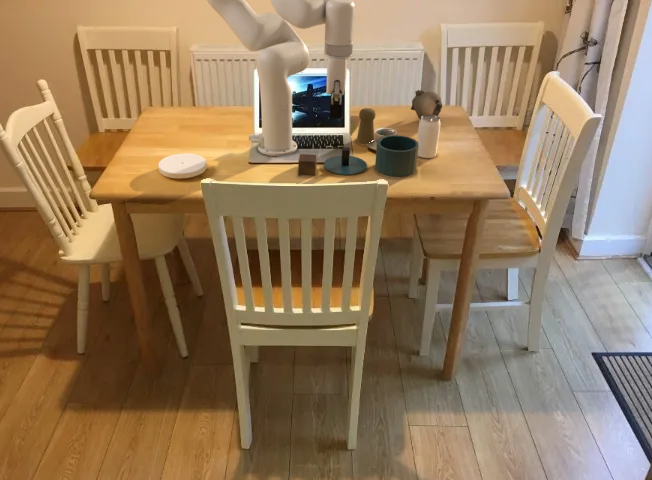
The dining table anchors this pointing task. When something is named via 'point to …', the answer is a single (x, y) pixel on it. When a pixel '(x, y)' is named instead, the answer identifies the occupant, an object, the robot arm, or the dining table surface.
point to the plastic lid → (182, 165)
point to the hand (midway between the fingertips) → (335, 111)
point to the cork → (366, 126)
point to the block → (307, 164)
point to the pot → (396, 156)
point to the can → (428, 136)
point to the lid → (345, 164)
